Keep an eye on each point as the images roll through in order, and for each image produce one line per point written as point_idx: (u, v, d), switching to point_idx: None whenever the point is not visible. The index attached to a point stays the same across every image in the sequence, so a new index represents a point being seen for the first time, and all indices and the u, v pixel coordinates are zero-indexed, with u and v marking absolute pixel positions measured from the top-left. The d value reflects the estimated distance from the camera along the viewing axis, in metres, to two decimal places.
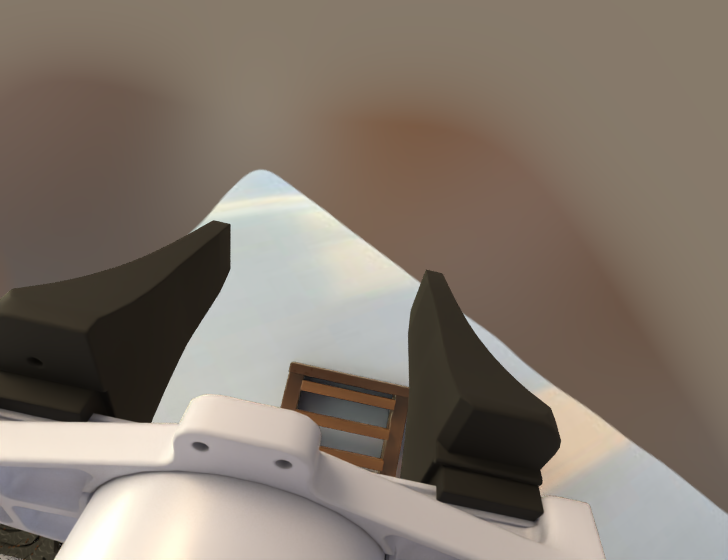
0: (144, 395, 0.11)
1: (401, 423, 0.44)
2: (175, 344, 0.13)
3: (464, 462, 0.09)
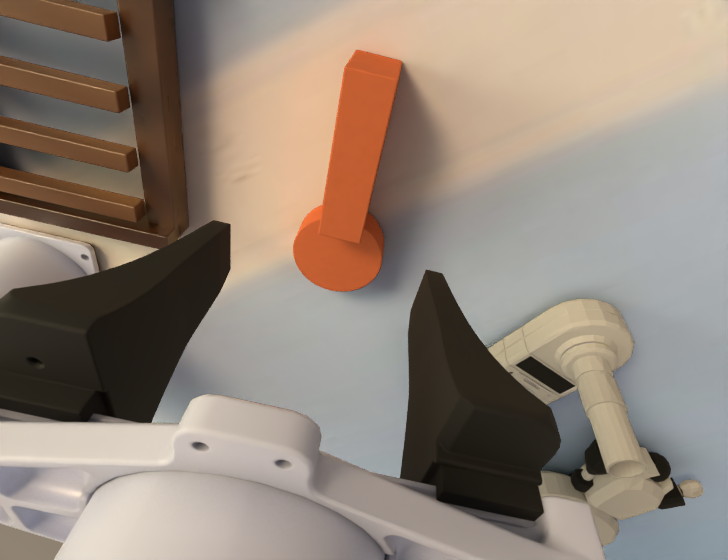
0: (144, 395, 0.11)
1: None
2: (175, 344, 0.13)
3: (464, 462, 0.09)
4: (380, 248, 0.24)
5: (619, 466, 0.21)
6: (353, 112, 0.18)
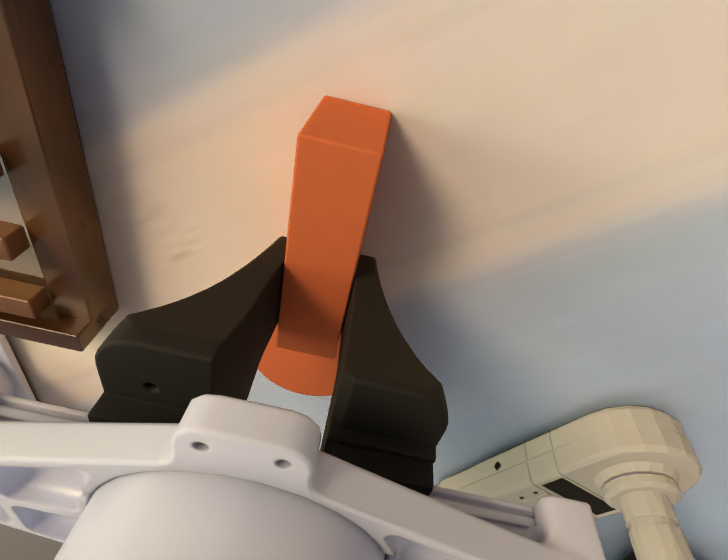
0: None
1: None
2: (254, 362, 0.13)
3: (357, 439, 0.09)
4: None
5: None
6: (315, 198, 0.11)
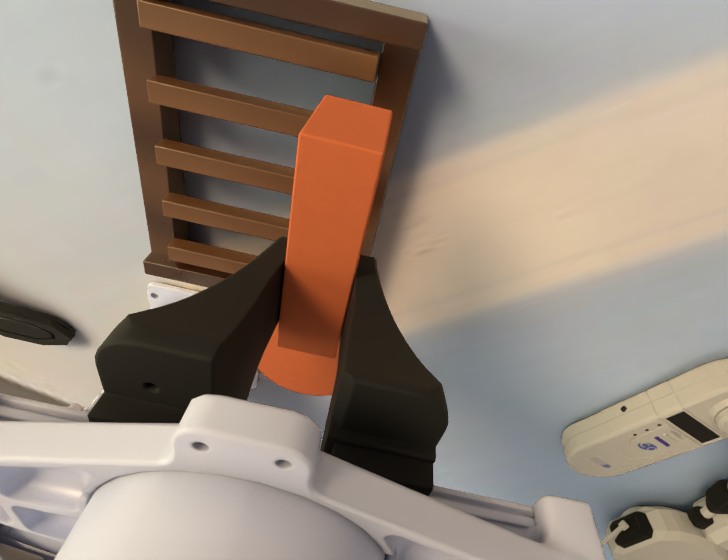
0: None
1: (395, 110, 0.19)
2: (254, 362, 0.13)
3: (357, 439, 0.09)
4: None
5: None
6: (316, 197, 0.11)
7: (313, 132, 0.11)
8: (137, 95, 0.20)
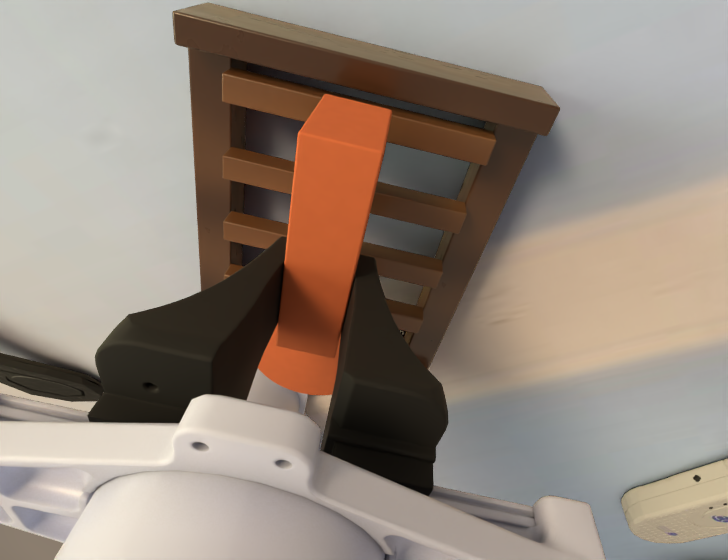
0: None
1: (499, 190, 0.17)
2: (254, 361, 0.13)
3: (357, 439, 0.09)
4: None
5: None
6: (315, 196, 0.11)
7: (312, 131, 0.11)
8: (206, 166, 0.18)
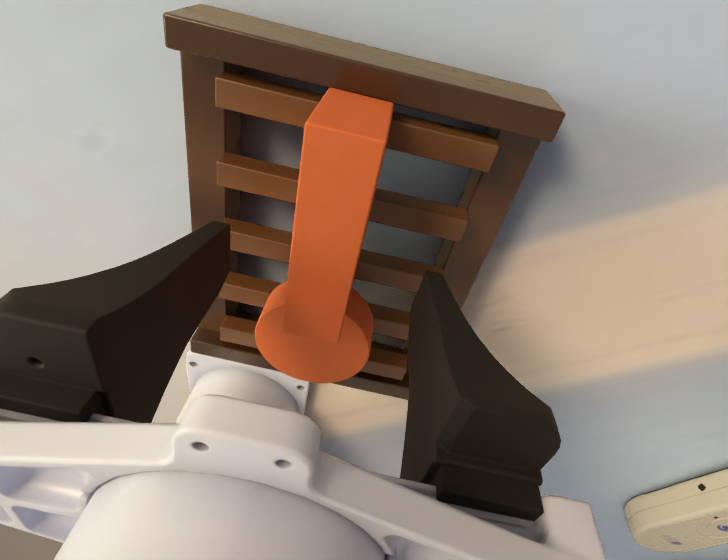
0: (144, 395, 0.11)
1: (502, 197, 0.17)
2: (175, 344, 0.13)
3: (464, 462, 0.09)
4: (367, 337, 0.18)
5: None
6: (320, 184, 0.12)
7: (318, 122, 0.11)
8: (200, 172, 0.17)
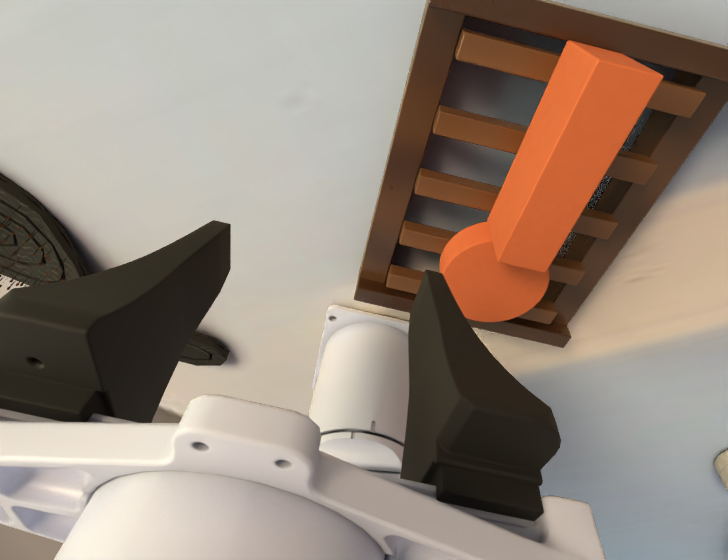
0: (144, 395, 0.11)
1: (685, 144, 0.19)
2: (175, 344, 0.13)
3: (464, 462, 0.09)
4: (548, 275, 0.20)
5: None
6: (590, 116, 0.14)
7: (604, 60, 0.13)
8: (408, 124, 0.19)
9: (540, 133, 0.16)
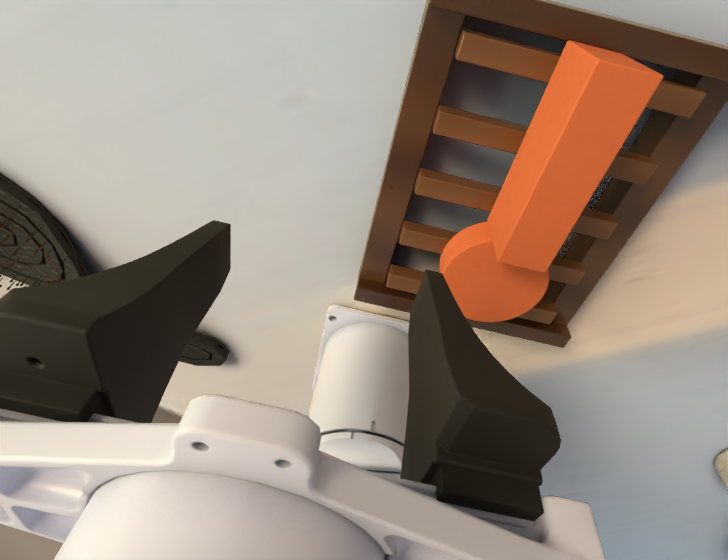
0: (144, 395, 0.11)
1: (685, 144, 0.19)
2: (175, 344, 0.13)
3: (464, 462, 0.09)
4: (548, 275, 0.20)
5: None
6: (590, 117, 0.14)
7: (604, 60, 0.13)
8: (408, 124, 0.19)
9: (540, 133, 0.16)
